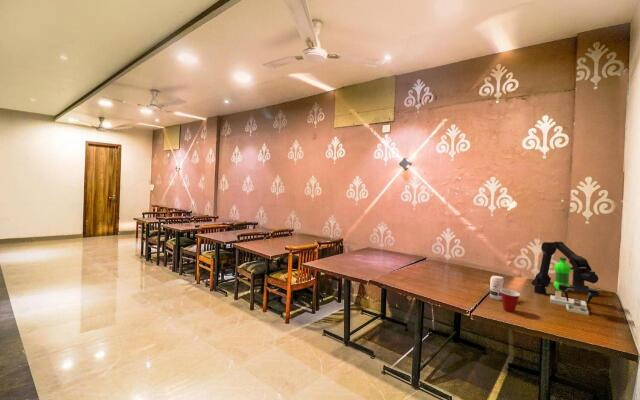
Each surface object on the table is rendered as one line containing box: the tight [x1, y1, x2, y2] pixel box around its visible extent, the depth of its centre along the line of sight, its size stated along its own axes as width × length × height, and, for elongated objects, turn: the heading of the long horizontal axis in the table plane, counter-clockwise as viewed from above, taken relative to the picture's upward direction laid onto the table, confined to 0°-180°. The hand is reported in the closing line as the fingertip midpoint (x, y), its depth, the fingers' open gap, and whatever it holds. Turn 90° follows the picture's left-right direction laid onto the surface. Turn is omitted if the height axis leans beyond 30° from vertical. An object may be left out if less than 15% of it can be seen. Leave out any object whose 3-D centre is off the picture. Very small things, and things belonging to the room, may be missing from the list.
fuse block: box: [549, 294, 588, 308], centre depth 200 cm, size 18×10×4 cm, turn 54°
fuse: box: [554, 290, 562, 300], centre depth 202 cm, size 3×3×7 cm
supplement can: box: [489, 275, 505, 301], centre depth 210 cm, size 8×8×15 cm
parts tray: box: [565, 304, 590, 316], centre depth 189 cm, size 10×10×2 cm
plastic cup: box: [500, 288, 521, 313], centre depth 189 cm, size 11×11×12 cm
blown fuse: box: [573, 298, 581, 311], centre depth 189 cm, size 3×3×7 cm
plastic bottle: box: [553, 256, 572, 292], centre depth 230 cm, size 10×10×25 cm
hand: (577, 303), depth 189 cm, fingers open, 9 cm apart
